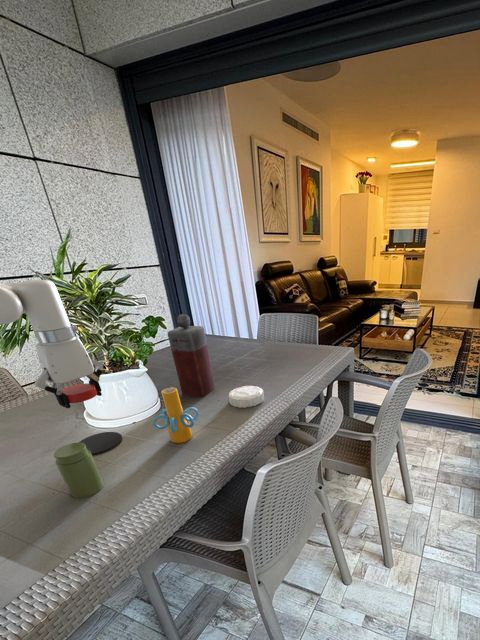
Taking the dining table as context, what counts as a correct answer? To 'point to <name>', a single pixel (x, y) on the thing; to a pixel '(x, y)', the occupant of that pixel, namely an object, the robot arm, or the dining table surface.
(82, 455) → the jar
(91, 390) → the jar lid
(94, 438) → the coaster
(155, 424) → the cylinder
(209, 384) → the red square decanter
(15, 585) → the dining table surface
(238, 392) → the mooncake
